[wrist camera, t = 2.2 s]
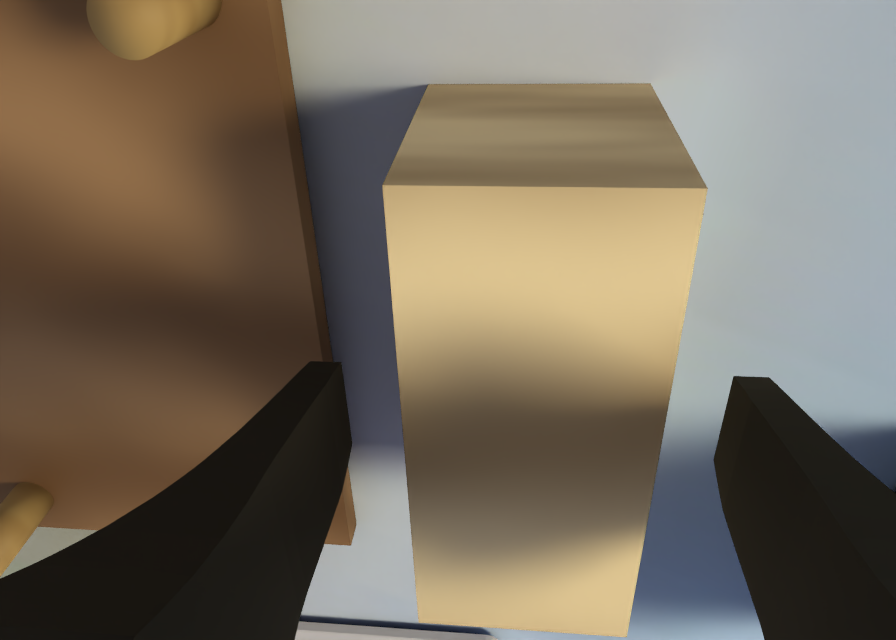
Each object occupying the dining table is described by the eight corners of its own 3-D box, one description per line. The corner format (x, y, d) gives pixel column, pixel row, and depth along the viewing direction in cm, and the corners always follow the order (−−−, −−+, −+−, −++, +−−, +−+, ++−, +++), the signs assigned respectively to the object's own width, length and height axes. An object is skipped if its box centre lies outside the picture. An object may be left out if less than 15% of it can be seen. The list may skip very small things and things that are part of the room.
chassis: (356, 524, 22) (331, 620, 19) (20, 505, 23) (-50, 593, 20) (267, -95, 13) (195, -83, 10) (-275, -79, 14) (-475, -64, 11)
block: (603, 453, 19) (626, 637, 15) (444, 446, 20) (418, 622, 15) (649, 81, 14) (707, 188, 9) (428, 82, 14) (382, 185, 10)
